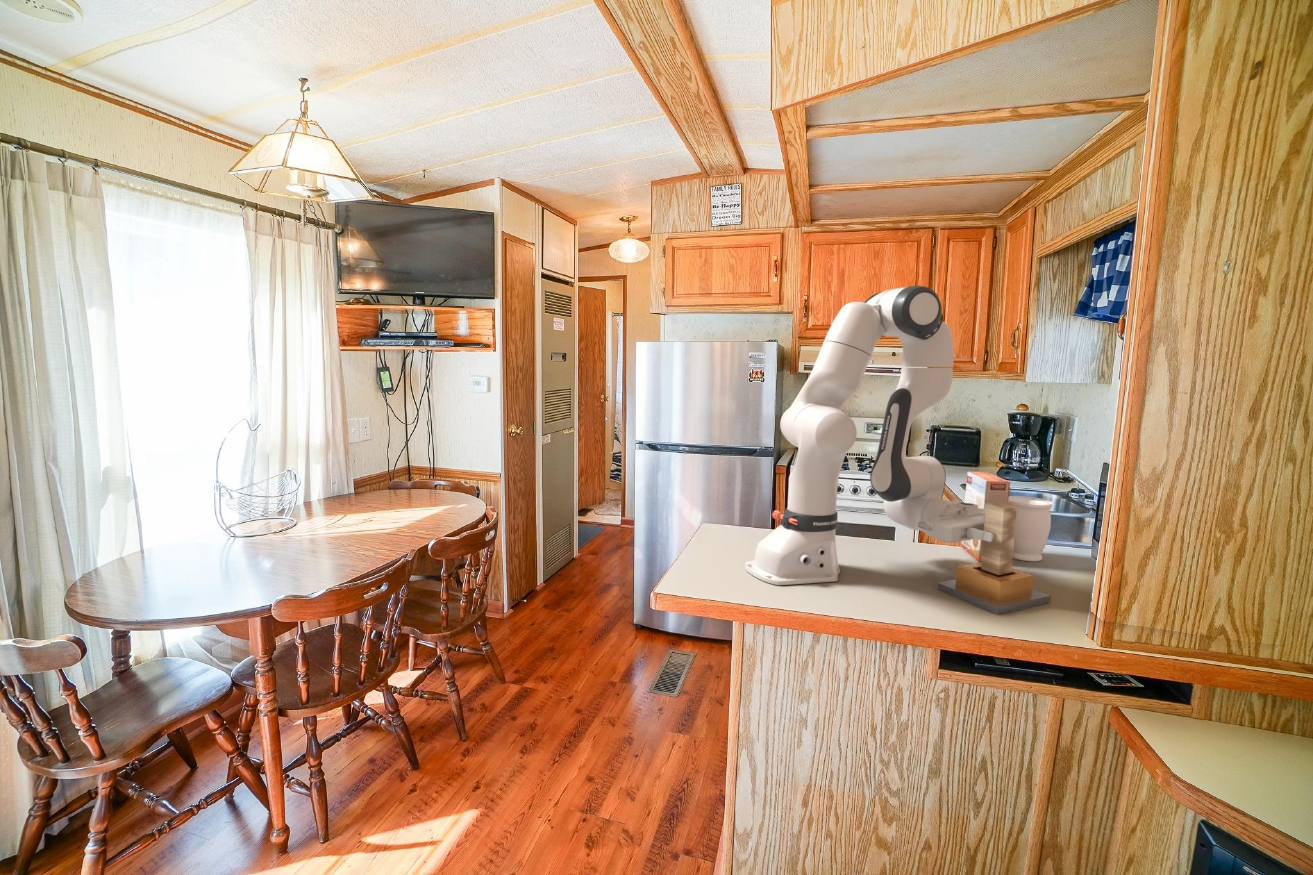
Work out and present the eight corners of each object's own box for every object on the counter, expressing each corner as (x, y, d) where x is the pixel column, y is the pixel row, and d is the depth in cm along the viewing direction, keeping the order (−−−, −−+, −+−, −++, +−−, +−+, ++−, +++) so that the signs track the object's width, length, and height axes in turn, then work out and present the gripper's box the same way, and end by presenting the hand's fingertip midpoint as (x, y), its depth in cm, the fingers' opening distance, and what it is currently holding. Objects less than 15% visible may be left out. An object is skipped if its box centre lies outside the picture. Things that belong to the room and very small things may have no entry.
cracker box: (1004, 564, 142) (1012, 481, 139) (977, 562, 143) (984, 480, 141) (984, 547, 156) (990, 471, 153) (960, 545, 157) (966, 470, 154)
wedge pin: (998, 575, 119) (1003, 509, 117) (980, 568, 122) (985, 504, 121) (1011, 572, 120) (1016, 507, 119) (993, 566, 124) (998, 502, 122)
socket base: (997, 614, 112) (1000, 587, 112) (937, 589, 125) (939, 564, 124) (1050, 602, 119) (1052, 577, 118) (987, 579, 131) (989, 556, 131)
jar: (994, 548, 155) (999, 493, 153) (1038, 552, 152) (1044, 497, 150) (1006, 560, 145) (1011, 502, 143) (1053, 565, 142) (1059, 506, 140)
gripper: (913, 510, 128) (968, 526, 115) (977, 502, 136) (1035, 516, 123) (911, 538, 128) (966, 557, 116) (975, 528, 137) (1033, 545, 124)
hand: (1002, 536), depth 120 cm, fingers closed on wedge pin, 4 cm apart
